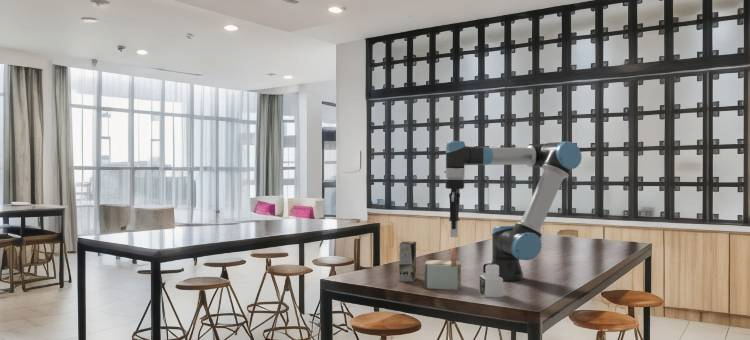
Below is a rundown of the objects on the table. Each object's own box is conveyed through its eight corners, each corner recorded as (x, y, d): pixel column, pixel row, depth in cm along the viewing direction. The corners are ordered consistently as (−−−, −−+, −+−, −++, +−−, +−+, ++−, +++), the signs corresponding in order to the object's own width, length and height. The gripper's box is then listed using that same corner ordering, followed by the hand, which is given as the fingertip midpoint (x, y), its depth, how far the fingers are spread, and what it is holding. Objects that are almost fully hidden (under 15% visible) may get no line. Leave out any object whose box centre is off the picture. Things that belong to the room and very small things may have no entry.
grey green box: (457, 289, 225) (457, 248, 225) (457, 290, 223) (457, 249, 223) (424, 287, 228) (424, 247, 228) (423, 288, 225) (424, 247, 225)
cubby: (460, 285, 234) (460, 261, 234) (459, 289, 225) (460, 264, 225) (426, 283, 237) (427, 259, 237) (424, 288, 228) (424, 263, 228)
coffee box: (413, 282, 240) (413, 244, 240) (398, 281, 242) (399, 243, 242) (416, 278, 249) (416, 241, 249) (402, 277, 251) (402, 240, 251)
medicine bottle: (479, 293, 219) (479, 262, 219) (497, 293, 219) (497, 262, 219) (484, 297, 212) (484, 265, 212) (503, 297, 212) (503, 265, 212)
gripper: (447, 178, 237) (447, 234, 237) (443, 179, 225) (442, 238, 225) (465, 179, 235) (465, 235, 235) (462, 179, 223) (461, 239, 223)
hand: (454, 236), depth 230 cm, fingers closed
